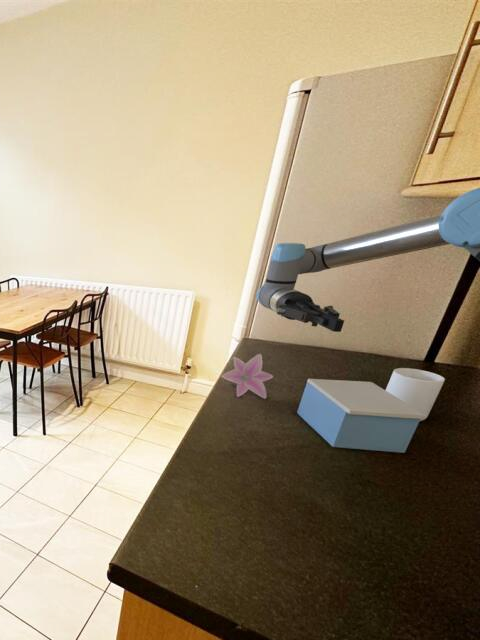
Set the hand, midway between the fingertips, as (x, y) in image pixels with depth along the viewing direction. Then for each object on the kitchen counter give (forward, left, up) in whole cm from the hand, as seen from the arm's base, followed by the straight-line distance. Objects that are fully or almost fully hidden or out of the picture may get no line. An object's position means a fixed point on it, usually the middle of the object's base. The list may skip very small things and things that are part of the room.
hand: (338, 326), depth 97 cm
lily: (+14, +5, -20) cm, 25 cm away
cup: (-15, -9, -20) cm, 27 cm away
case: (-8, +12, -20) cm, 25 cm away
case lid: (-8, +12, -12) cm, 19 cm away
